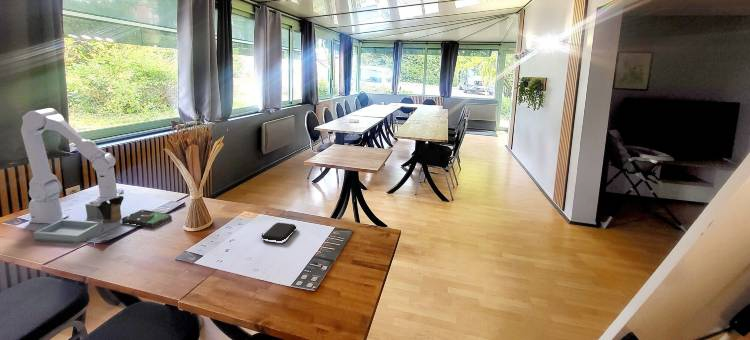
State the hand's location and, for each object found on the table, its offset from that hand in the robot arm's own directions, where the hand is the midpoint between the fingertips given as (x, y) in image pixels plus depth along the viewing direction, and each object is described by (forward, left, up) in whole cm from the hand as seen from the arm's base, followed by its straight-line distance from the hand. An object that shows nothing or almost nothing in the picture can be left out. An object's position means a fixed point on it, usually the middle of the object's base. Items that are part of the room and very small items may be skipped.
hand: (111, 216), depth 156 cm
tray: (-5, -15, -1) cm, 16 cm away
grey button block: (-8, +2, -2) cm, 8 cm away
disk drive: (+14, +1, -2) cm, 14 cm away
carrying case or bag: (+69, -3, -2) cm, 69 cm away
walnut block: (0, 0, -1) cm, 1 cm away
